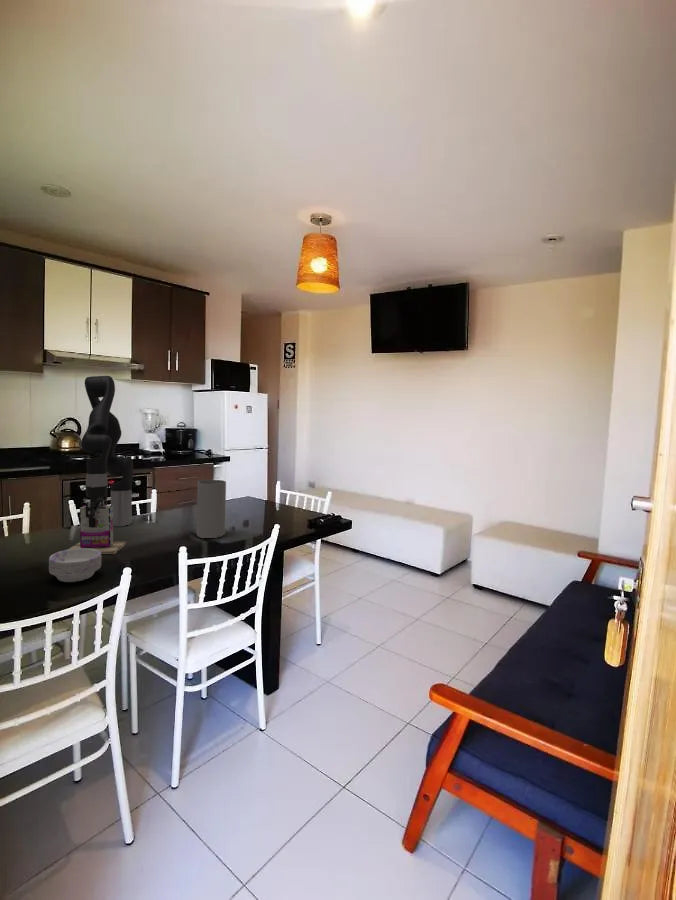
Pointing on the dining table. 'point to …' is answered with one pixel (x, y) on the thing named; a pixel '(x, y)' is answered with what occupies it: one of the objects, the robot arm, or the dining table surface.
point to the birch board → (106, 550)
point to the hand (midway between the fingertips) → (96, 524)
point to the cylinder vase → (211, 508)
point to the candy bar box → (97, 528)
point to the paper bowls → (74, 564)
